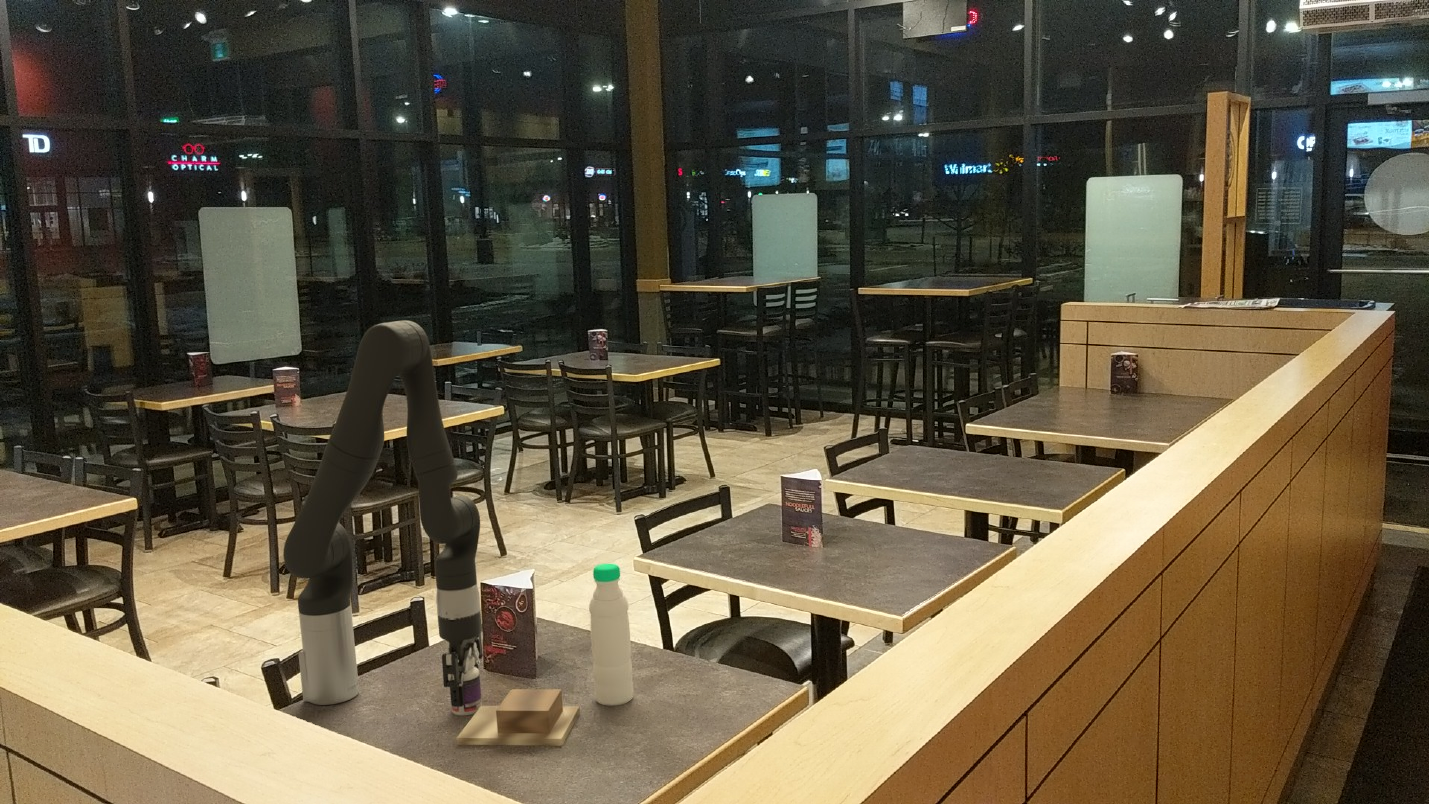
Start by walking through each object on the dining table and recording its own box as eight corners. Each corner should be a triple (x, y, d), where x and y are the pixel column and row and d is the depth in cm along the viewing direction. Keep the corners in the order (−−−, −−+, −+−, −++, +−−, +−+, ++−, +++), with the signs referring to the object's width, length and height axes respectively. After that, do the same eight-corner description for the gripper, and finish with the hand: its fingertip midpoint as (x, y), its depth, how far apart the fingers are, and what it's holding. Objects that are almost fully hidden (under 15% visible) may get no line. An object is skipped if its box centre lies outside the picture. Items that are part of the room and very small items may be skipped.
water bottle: (587, 703, 208) (578, 569, 204) (608, 689, 214) (600, 558, 210) (620, 709, 205) (612, 573, 201) (641, 694, 211) (633, 562, 207)
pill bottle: (486, 703, 210) (482, 652, 209) (477, 716, 205) (473, 664, 203) (457, 703, 211) (453, 653, 209) (447, 716, 205) (443, 664, 204)
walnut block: (497, 733, 195) (495, 710, 194) (513, 710, 203) (511, 689, 203) (549, 733, 193) (548, 710, 193) (562, 711, 202) (561, 689, 202)
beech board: (457, 744, 194) (456, 737, 193) (481, 712, 206) (480, 705, 206) (561, 745, 191) (561, 738, 191) (579, 712, 204) (579, 706, 204)
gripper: (452, 596, 212) (459, 680, 215) (424, 623, 198) (431, 712, 201) (491, 596, 211) (498, 680, 214) (466, 623, 197) (473, 712, 200)
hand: (466, 696), depth 207 cm, fingers open, 8 cm apart
